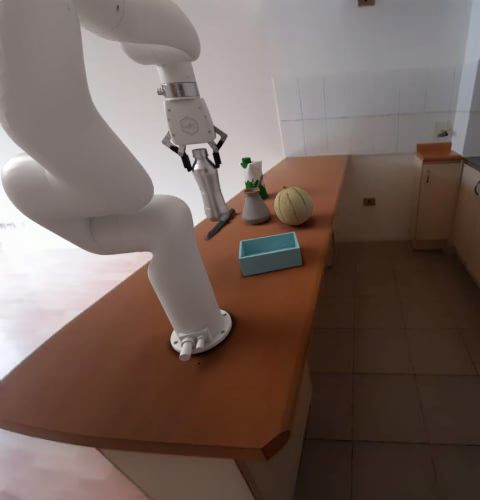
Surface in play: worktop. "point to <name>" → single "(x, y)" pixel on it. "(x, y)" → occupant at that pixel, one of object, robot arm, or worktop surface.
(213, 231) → the knife
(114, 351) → the worktop surface
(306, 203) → the cantaloupe
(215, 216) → the silver metal bottle
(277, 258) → the bin
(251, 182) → the milk carton
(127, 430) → the worktop surface
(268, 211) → the coffee pot
